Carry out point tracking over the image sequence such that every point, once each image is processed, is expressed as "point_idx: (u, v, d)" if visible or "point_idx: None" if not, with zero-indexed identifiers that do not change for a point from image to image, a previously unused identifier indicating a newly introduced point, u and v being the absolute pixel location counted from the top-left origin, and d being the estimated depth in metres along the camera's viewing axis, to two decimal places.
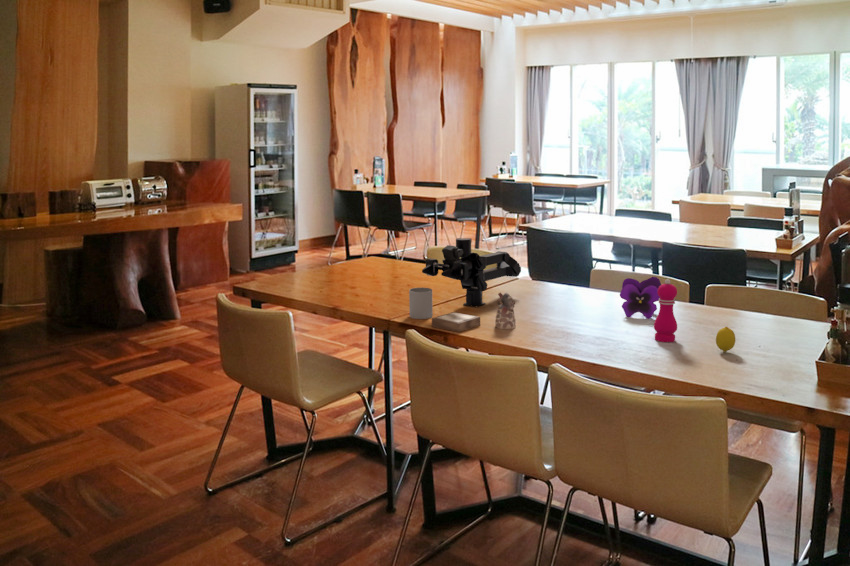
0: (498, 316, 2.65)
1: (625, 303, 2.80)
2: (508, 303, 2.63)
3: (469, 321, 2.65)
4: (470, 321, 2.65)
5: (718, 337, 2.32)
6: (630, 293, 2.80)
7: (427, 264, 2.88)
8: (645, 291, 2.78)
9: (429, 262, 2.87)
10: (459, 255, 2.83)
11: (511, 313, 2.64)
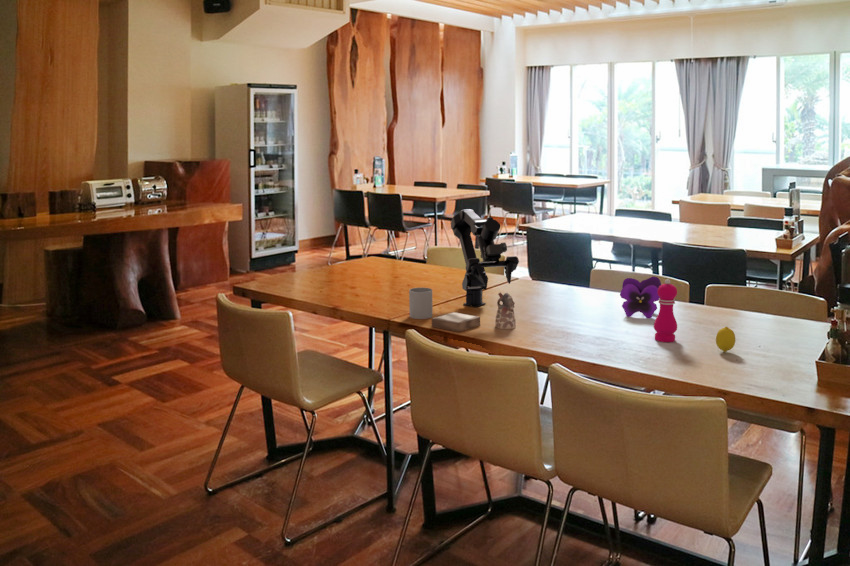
0: (498, 316, 2.65)
1: (625, 303, 2.80)
2: (508, 303, 2.63)
3: (469, 321, 2.65)
4: (470, 321, 2.65)
5: (718, 337, 2.32)
6: (630, 293, 2.80)
7: (473, 268, 2.73)
8: (645, 291, 2.78)
9: (478, 267, 2.73)
10: None
11: (511, 313, 2.64)
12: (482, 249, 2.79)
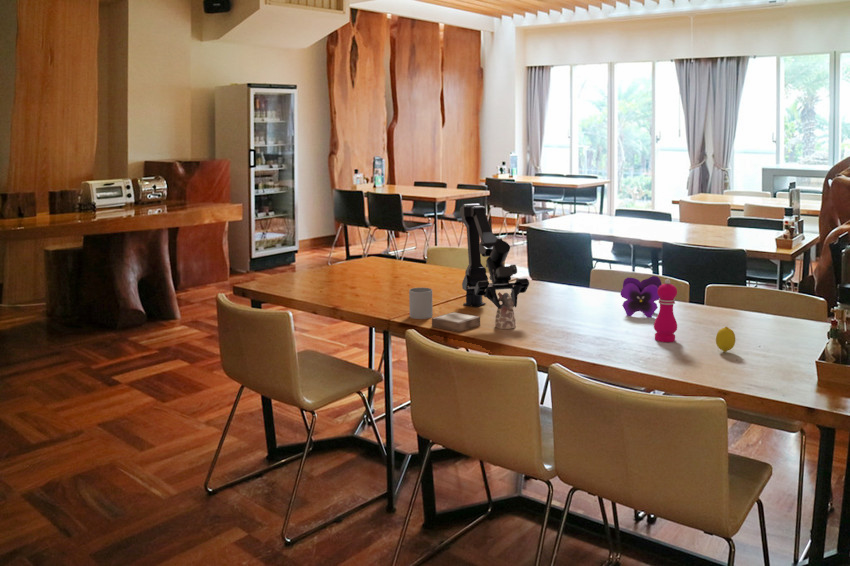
0: (498, 316, 2.65)
1: (626, 302, 2.82)
2: (507, 303, 2.63)
3: (469, 321, 2.65)
4: (470, 321, 2.65)
5: (718, 337, 2.32)
6: (631, 292, 2.81)
7: (487, 290, 2.65)
8: (646, 290, 2.79)
9: (492, 289, 2.65)
10: None
11: (511, 313, 2.64)
12: (491, 271, 2.71)
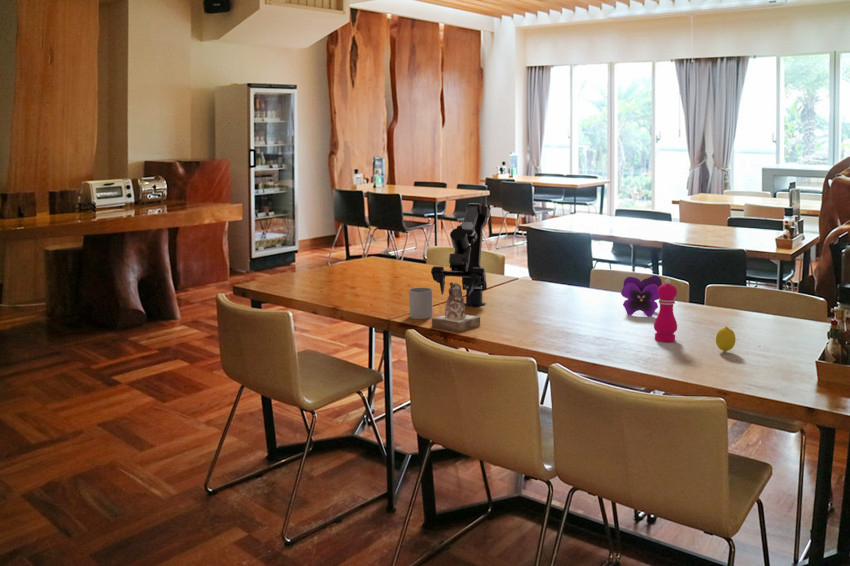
0: None
1: (626, 301, 2.83)
2: (453, 294, 2.65)
3: (469, 321, 2.65)
4: (470, 321, 2.65)
5: (718, 337, 2.32)
6: (631, 291, 2.83)
7: (435, 276, 2.70)
8: (646, 289, 2.81)
9: (438, 275, 2.68)
10: (469, 260, 2.66)
11: (456, 304, 2.65)
12: None
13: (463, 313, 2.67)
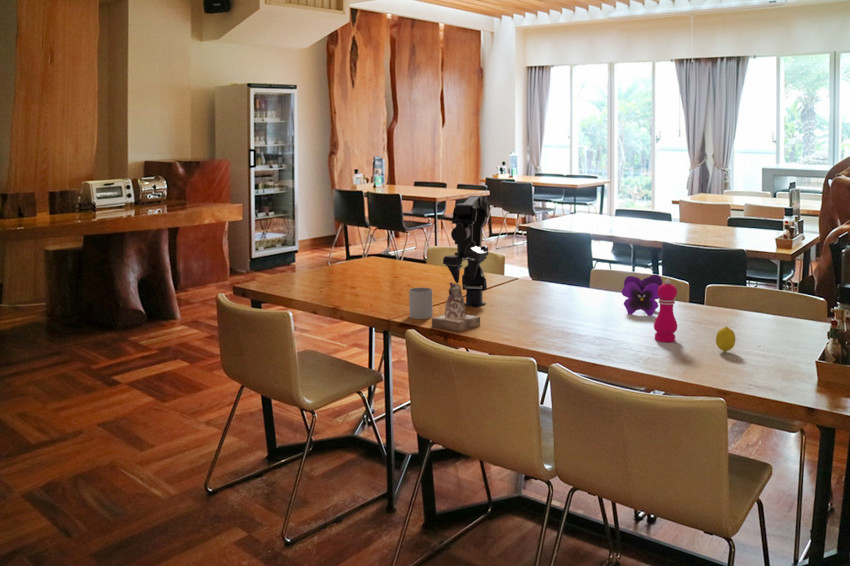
0: None
1: (627, 301, 2.84)
2: (453, 294, 2.65)
3: (469, 321, 2.65)
4: (470, 321, 2.65)
5: (718, 337, 2.32)
6: (632, 291, 2.84)
7: (454, 266, 2.73)
8: (647, 289, 2.82)
9: (458, 267, 2.74)
10: None
11: (456, 304, 2.65)
12: (463, 242, 2.76)
13: (463, 313, 2.67)
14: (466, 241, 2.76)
